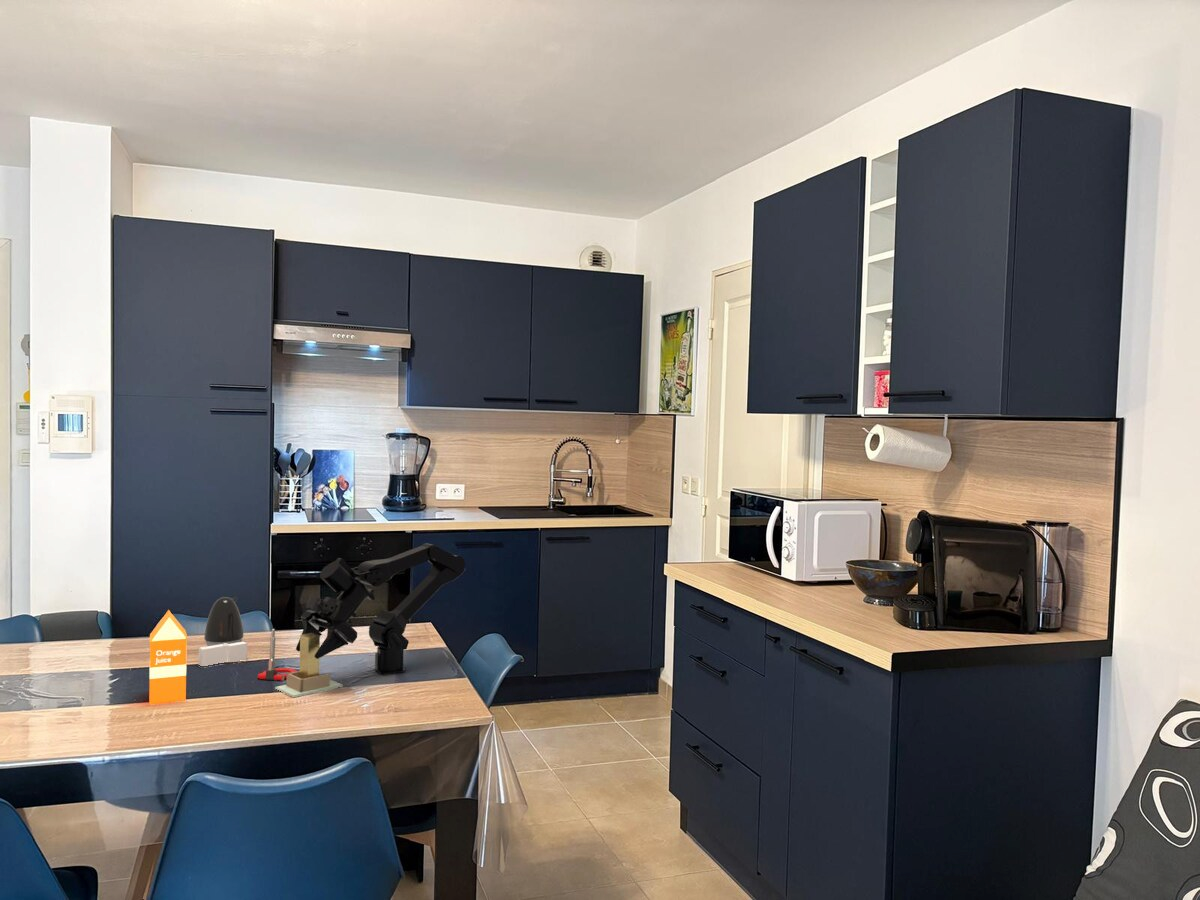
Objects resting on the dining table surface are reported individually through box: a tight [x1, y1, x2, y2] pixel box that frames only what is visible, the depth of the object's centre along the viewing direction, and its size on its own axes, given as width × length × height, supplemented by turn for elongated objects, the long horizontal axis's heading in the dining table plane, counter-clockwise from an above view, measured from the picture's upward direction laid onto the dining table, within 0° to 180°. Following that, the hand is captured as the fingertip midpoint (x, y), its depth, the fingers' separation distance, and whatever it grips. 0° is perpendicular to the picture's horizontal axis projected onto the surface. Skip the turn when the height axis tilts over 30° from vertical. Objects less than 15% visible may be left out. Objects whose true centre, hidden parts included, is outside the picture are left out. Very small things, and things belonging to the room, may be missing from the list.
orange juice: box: [148, 609, 188, 706], centre depth 202 cm, size 8×9×20 cm
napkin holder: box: [198, 641, 248, 667], centre depth 232 cm, size 15×11×6 cm
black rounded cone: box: [203, 596, 244, 647], centre depth 245 cm, size 10×10×15 cm
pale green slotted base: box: [274, 670, 343, 698], centre depth 212 cm, size 13×9×4 cm
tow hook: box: [257, 628, 297, 682], centre depth 222 cm, size 8×13×9 cm
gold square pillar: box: [299, 633, 321, 679], centre depth 212 cm, size 5×4×12 cm
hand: (306, 654), depth 211 cm, fingers open, 9 cm apart
